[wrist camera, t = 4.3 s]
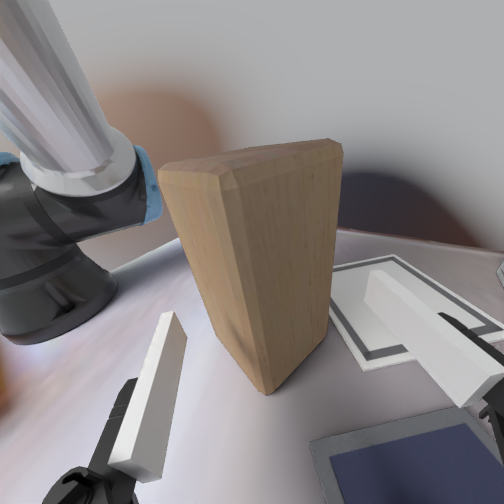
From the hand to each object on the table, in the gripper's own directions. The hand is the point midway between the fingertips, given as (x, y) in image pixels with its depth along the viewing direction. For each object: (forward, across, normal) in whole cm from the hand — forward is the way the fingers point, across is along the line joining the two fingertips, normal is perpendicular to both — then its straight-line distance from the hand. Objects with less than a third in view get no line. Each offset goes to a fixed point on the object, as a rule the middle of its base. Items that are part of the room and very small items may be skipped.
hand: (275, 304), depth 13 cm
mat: (+8, +16, -11) cm, 21 cm away
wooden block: (+6, 0, -11) cm, 12 cm away
